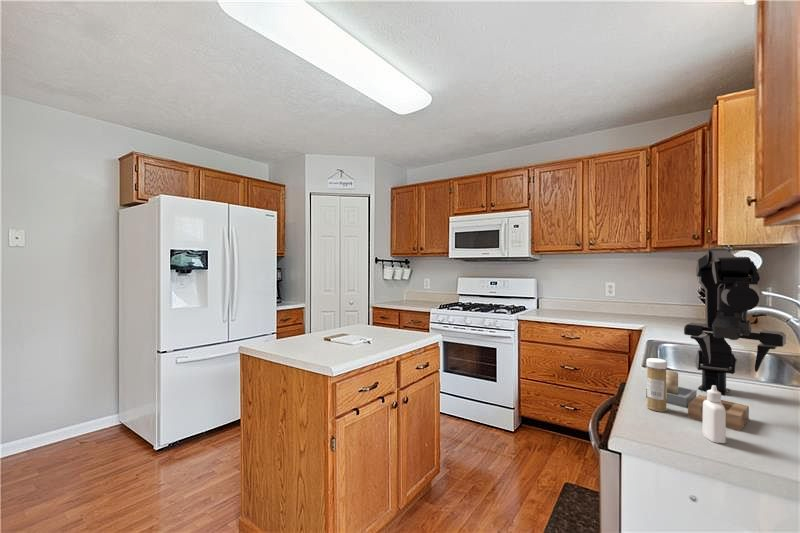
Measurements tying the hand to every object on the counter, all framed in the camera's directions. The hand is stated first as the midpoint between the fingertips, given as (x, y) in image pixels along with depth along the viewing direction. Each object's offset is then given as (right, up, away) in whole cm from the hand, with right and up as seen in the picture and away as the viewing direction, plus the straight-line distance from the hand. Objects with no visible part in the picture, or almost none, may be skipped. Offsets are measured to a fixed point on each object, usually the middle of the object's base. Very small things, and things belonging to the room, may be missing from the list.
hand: (731, 367), depth 95 cm
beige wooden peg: (-5, -12, +14) cm, 19 cm away
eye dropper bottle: (-13, -14, -10) cm, 22 cm away
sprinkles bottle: (-15, -13, +6) cm, 21 cm away
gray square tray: (-5, -13, +14) cm, 20 cm away
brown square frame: (-4, -13, 0) cm, 13 cm away
